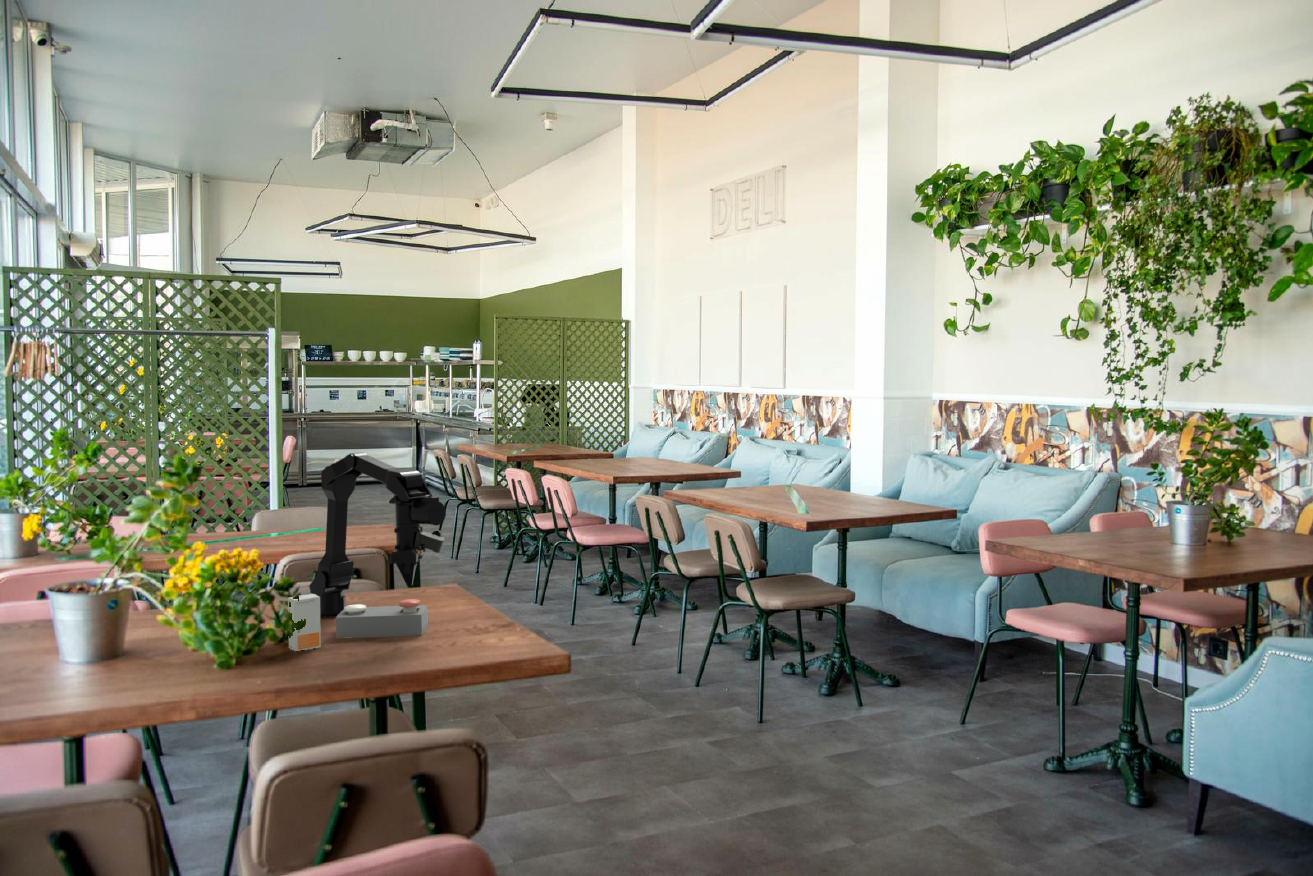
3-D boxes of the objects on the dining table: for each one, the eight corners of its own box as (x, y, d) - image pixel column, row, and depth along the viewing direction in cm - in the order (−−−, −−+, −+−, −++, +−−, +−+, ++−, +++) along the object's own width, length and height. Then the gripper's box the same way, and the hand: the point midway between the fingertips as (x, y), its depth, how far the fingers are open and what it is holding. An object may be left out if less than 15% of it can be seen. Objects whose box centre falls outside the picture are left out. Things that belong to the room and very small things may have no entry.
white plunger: (342, 630, 229) (342, 609, 229) (347, 624, 234) (346, 604, 234) (364, 629, 229) (363, 608, 229) (368, 624, 234) (367, 604, 234)
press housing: (336, 638, 226) (335, 617, 226) (345, 627, 236) (345, 607, 236) (421, 635, 228) (421, 614, 228) (427, 624, 238) (427, 605, 238)
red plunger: (397, 624, 230) (397, 604, 230) (401, 619, 235) (400, 599, 235) (419, 624, 231) (418, 603, 230) (422, 619, 236) (421, 599, 235)
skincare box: (295, 653, 214) (293, 600, 214) (288, 649, 218) (286, 597, 217) (322, 648, 218) (320, 596, 218) (314, 644, 222) (313, 593, 221)
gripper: (436, 527, 223) (438, 593, 224) (446, 516, 241) (448, 577, 242) (387, 528, 222) (389, 595, 223) (401, 517, 240) (403, 579, 241)
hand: (409, 586), depth 232 cm, fingers closed
